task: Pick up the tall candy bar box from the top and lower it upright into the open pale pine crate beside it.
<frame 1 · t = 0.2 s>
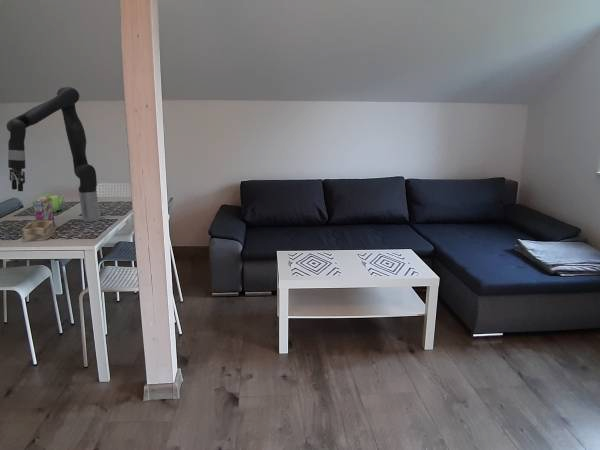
hand: (17, 190, 232), 23 cm above the table, tool pointing down, fingers open, 8 cm apart
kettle: (51, 212, 284), on the table
crate: (39, 236, 229), on the table
candy bar box: (46, 229, 244), on the table
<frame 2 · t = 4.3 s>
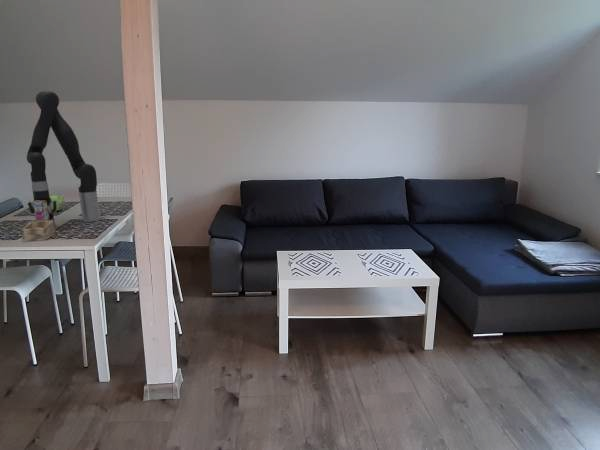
hand: (45, 219, 243), 5 cm above the table, tool pointing down, fingers closed on candy bar box, 5 cm apart
candy bar box: (46, 228, 244), on the table, touching gripper
everything else where it was.
when the fingers open (7 cm above the table, at t = 11.6 s): candy bar box drops 1 cm, resting on crate.
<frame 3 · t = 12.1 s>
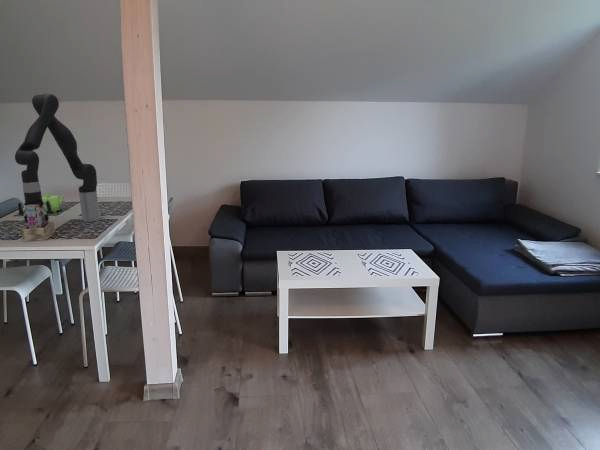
hand: (37, 221, 227), 8 cm above the table, tool pointing down, fingers open, 8 cm apart
candy bar box: (39, 235, 229), point 1 cm above the table, touching crate
everything else where it was.
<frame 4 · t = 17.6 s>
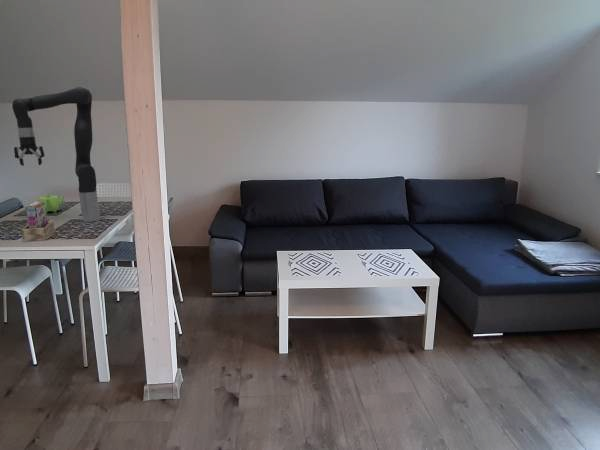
hand: (31, 165, 250), 33 cm above the table, tool pointing down, fingers open, 8 cm apart
nothing on the table moved.
at the end: candy bar box 0.3 cm off-centre on the crate, point 0.6 cm above the crate's base; candy bar box tilted 0°; the gripper is holding nothing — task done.
